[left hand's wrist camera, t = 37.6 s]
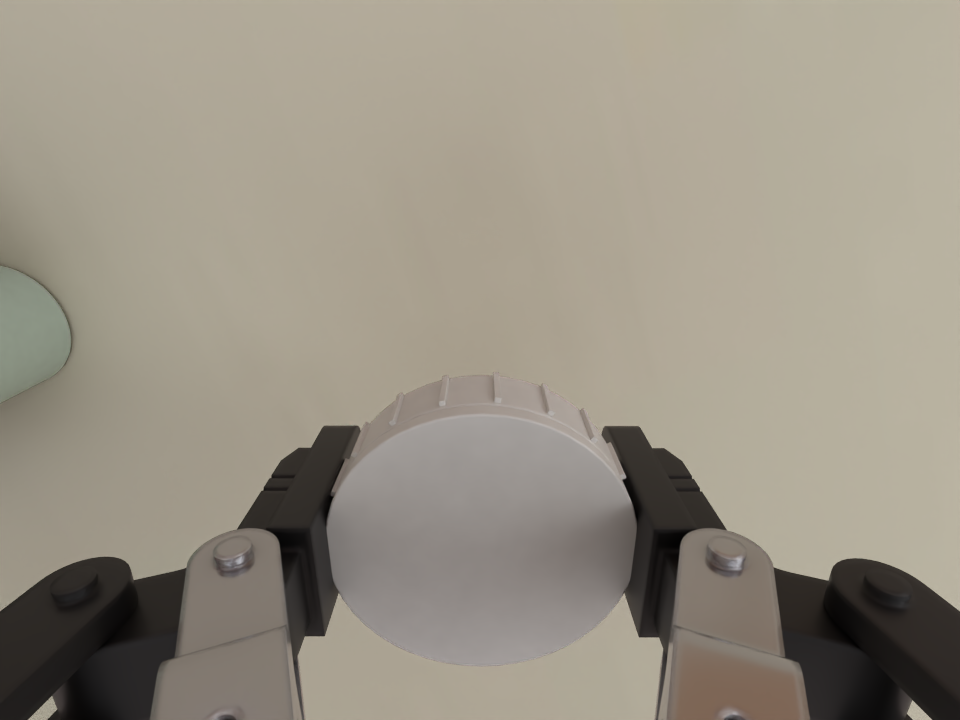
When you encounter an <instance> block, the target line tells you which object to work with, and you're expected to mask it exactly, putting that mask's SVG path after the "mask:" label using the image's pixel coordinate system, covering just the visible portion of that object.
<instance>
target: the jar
mask: <svg viewBox="0 0 960 720" xmlns="http://www.w3.org/2000/svg"><path fill="white" fill-rule="evenodd" d="M70 348H71V334H70V328H69V325H68V321H67V319H66V317H65V314H64V312H63V311H62V309H61V307H60V306H59V304H58V303H57V301H56V300H55V299H54V298H53V296H52V295H51V294H50V293H49V292H48V291H47V290H46V289H45V288H44V287H43V286H41V285H40V284H39V283H38V282H36V281H35V280H33V279H32V278H30V277H29V276H27V275H25V274H23V273H21V272H19V271H17V270H14V269H11V268H8V267H4V266H0V403H2V402H4V401H6V400H8V399H10V398H12V397H14V396H16V395H18V394H19V393H21V392H23V391H25V390H27V389H29V388H31V387H33V386H35V385H37V384H39V383H41V382H43V381H44V380H46V379H48V378H50V377H52V376H53V375H55V374H56V373H57V372H58V371H60V369H61V368H62V367H63V366H64V364H65V362H66V360H67V359H68V356H69V353H70Z"/></svg>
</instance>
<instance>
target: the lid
mask: <svg viewBox="0 0 960 720" xmlns="http://www.w3.org/2000/svg"><path fill="white" fill-rule="evenodd" d="M625 478H626V475H625V473H624V471H623V469H622V466H621V464H620V462H619V460H618V457H617V455H616V453H615V450H614V448H613V446H612V444H611V442H609V443H606V441H605V440H604V438H603V437H602V435H601V434H600V432H599V431H598V429H597V428H596V427H595V425H594V424H593V423H592V422H591V421H590V418H589V416H588V413H587V411H586V410H585V409H584V408H582V409H581V410H579V409H578V408H576V407H575V406H574V405H573V404H572V403H570V402H568V401H567V400H565V399H564V398H562V397H561V396H559V395H558V394H556V393H554V392H551V391H549V389H548V386H547V385H545V384H543V383H542V385H541V386H538V385H535V384H532V383H529V382H526V381H523V380H518V379H513V378H508V377H503V376H499V373H498V372H493V376H489V375H475V376H461V377H455V378H450V379H449V376H448V375H446V376H443V377H442V380H441V381H437V382H434V383H431V384H428V385H425V386H423V387H420V388H418V389H416V390H414V391H411V392H409V393H407V394H406V395H403V393H400V394H398V395H397V398H396V401H394V402H393V403H392V404H390V405H389V406H388V407H387V408H385V409H384V410H383V411H382V412H381V413H379V414H378V416H377V417H376V418H375V419H374V420H373V421H372V422H371V423H370V424H369V423H368V422H366V423H365V424H364V425H363V427H362V430H361V432H360V434H359V437H358V439H357V442H356V444H355V446H354V449H353V451H352V454H351V456H350V459H345V461H344V463H343V465H342V467H341V470H340V472H339V474H338V477H337V479H336V481H335V484H334V486H333V488H332V491H331V496H333V500H332V502H331V506H330V509H329V512H328V516H327V520H326V529H327V538H328V546H329V554H330V562H331V570H332V577H333V582H334V584H335V586H336V588H337V590H338V591H339V593H340V595H341V597H342V599H343V600H344V601H345V603H346V604H347V605H348V607H349V608H350V609H351V611H352V612H353V613H354V614H355V615H356V616H357V617H358V618H359V619H360V620H361V621H362V622H363V623H364V624H365V625H366V626H367V627H369V628H370V629H371V630H372V631H373V632H375V633H376V634H377V635H379V636H380V637H382V638H383V639H385V640H387V641H388V642H390V643H391V644H393V645H395V646H397V647H399V648H401V649H404V650H406V651H408V652H410V653H413V654H416V655H418V656H421V657H424V658H427V659H431V660H435V661H439V662H443V663H449V664H456V665H464V666H500V665H507V664H514V663H520V662H524V661H528V660H532V659H536V658H539V657H542V656H545V655H548V654H551V653H553V652H555V651H557V650H559V649H562V648H564V647H566V646H568V645H570V644H571V643H573V642H575V641H576V640H578V639H580V638H581V637H583V636H584V635H586V634H587V633H588V632H589V631H591V630H592V629H593V628H595V627H596V626H597V625H598V624H599V623H600V622H601V621H602V620H603V619H604V618H605V617H606V616H607V615H608V614H609V613H610V612H611V611H612V609H613V608H614V607H615V606H616V604H617V603H618V602H619V600H620V599H621V597H622V595H623V593H624V592H625V590H626V588H627V587H628V584H629V582H630V578H631V571H632V563H633V556H634V548H635V540H636V532H637V519H636V515H635V511H634V507H633V504H632V502H631V499H630V497H629V495H628V492H627V490H626V487H625V485H624V483H623V479H625Z"/></svg>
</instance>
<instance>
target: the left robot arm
mask: <svg viewBox="0 0 960 720" xmlns="http://www.w3.org/2000/svg"><path fill="white" fill-rule="evenodd" d="M360 432H361V431H360V428H359V426H324V427H323V428H322V429H321V431H320V433H319V435H318V437H317V438H316V440H315V442H314V444H313V445H312V447H311V448H298V449H297V450H295V451H294V452H292V453H291V454H290V455H288V456H287V457H285V458H284V459H283V460H281V461H280V463H279V465H278V466H277V468H276V469H275V471H274V472H273V474H272V478H270V479H269V480H268V482H267V483H266V485H265V486H264V491H261V493H260V494H259V496H258V497H257V499H256V500H255V502H254V504H253V505H252V507H251V508H250V510H249V511H248V513H247V515H246V516H245V518H244V519H243V521H242V522H241V524H240V525H239V527H238V529H237V530H233V531H230V532H226V533H224V534H221V535H219V536H217V537H214V538H212V539H211V540H209V541H207V542H206V543H204V544H203V545H202V546H201V547H199V548H198V549H197V550H196V551H195V552H194V553H193V555H192V556H191V557H190V559H189V561H188V564H187V567H186V568H185V569H181V570H178V571H174V572H169V573H165V574H160V575H156V576H151V577H147V578H142V579H138V580H133V576H132V573H131V569H130V567H129V565H128V564H127V563H126V562H125V561H123V560H122V559H119V558H115V557H97V558H91V559H86V560H82V561H79V562H76V563H73V564H70V565H68V566H66V567H63V568H61V569H59V570H57V571H55V572H53V573H52V574H50V575H48V576H46V577H45V578H44V579H42V580H41V581H39V582H38V583H37V584H35V585H34V586H33V587H31V588H30V589H29V590H28V591H26V592H25V593H24V594H22V595H21V596H20V597H18V598H17V599H16V600H15V601H13V602H12V603H11V604H9V605H8V606H7V607H5V608H4V609H3V610H2V611H0V720H28V719H29V718H30V717H31V716H32V715H33V714H34V713H35V712H36V711H37V710H38V709H39V708H40V707H41V706H42V705H43V704H44V703H45V702H46V701H47V700H48V699H49V698H50V697H51V696H53V699H54V701H55V704H56V706H57V710H56V711H55V712H54V713H53V715H52V716H51V717H50V718H49V719H48V720H305V711H304V702H303V693H302V684H301V676H300V667H299V661H298V653H299V651H300V648H301V645H302V642H303V640H304V637H305V636H325V634H326V630H327V627H328V624H329V621H330V618H331V615H332V612H333V608H334V605H335V602H336V599H337V596H338V593H339V591H338V590H337V588H336V586H335V584H334V582H333V577H332V570H331V562H330V554H329V546H328V538H327V529H326V520H327V516H328V512H329V509H330V506H331V502H332V500H333V496H331V491H332V488H333V486H334V484H335V481H336V479H337V477H338V474H339V472H340V470H341V467H342V465H343V463H344V461H345V459H350V456H351V454H352V451H353V449H354V446H355V444H356V442H357V439H358V437H359V434H360ZM602 437H603V438H604V440H605V441H606V443H609V442H611V444H612V446H613V448H614V450H615V453H616V455H617V457H618V460H619V462H620V464H621V466H622V469H623V471H624V473H625V475H626V478H625V479H623V483H624V485H625V487H626V490H627V492H628V495H629V497H630V499H631V502H632V504H633V507H634V511H635V515H636V519H637V532H636V540H635V548H634V556H633V563H632V571H631V578H630V582H629V584H628V587H627V588H626V590H625V592H624V593H625V596H626V599H627V602H628V605H629V608H630V611H631V614H632V617H633V620H634V623H635V626H636V630H637V633H638V636H639V637H659V638H660V641H661V644H662V646H663V654H662V661H661V667H660V676H659V684H658V693H657V702H656V711H655V720H912V719H911V718H910V717H909V716H908V715H907V712H908V709H909V707H910V704H911V702H912V700H913V701H914V702H915V703H916V704H917V705H918V706H919V707H920V708H921V709H922V710H923V711H924V712H925V713H926V714H927V715H928V716H929V717H930V718H931V719H932V720H960V611H958V610H957V609H956V608H955V607H953V606H952V605H951V604H949V603H948V602H947V601H945V600H944V599H943V598H942V597H940V596H939V595H938V594H936V593H935V592H934V591H932V590H931V589H930V588H929V587H927V586H926V585H925V584H923V583H922V582H920V581H919V580H918V579H916V578H914V577H913V576H911V575H909V574H908V573H906V572H904V571H902V570H900V569H897V568H895V567H892V566H890V565H887V564H884V563H881V562H877V561H873V560H867V559H856V558H854V559H846V560H842V561H840V562H838V563H836V564H835V565H834V566H833V568H832V571H831V574H830V578H829V581H826V580H822V579H817V578H813V577H808V576H804V575H799V574H795V573H790V572H786V571H783V570H779V569H777V568H774V567H773V564H772V561H771V559H770V557H769V556H768V555H767V553H766V552H765V551H764V550H763V549H762V548H761V547H759V546H758V545H757V544H756V543H754V542H753V541H751V540H749V539H748V538H746V537H743V536H741V535H739V534H736V533H734V532H730V531H727V530H726V528H725V526H724V525H723V523H722V522H721V520H720V519H719V517H718V516H717V514H716V513H715V511H714V510H713V508H712V506H711V505H710V503H709V502H708V500H707V499H706V497H705V496H704V494H703V493H702V492H700V488H699V486H698V485H697V483H696V482H695V480H694V479H692V476H691V474H690V473H689V471H688V470H687V468H686V466H685V465H684V463H683V462H682V461H681V460H680V459H678V458H677V457H676V456H674V455H673V454H671V453H670V452H669V451H667V450H666V449H664V448H652V447H651V446H650V444H649V442H648V440H647V439H646V437H645V435H644V434H643V432H642V430H641V428H640V427H639V426H605V427H604V428H603V431H602Z"/></svg>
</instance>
